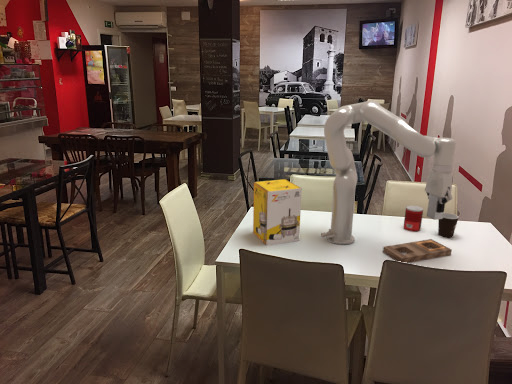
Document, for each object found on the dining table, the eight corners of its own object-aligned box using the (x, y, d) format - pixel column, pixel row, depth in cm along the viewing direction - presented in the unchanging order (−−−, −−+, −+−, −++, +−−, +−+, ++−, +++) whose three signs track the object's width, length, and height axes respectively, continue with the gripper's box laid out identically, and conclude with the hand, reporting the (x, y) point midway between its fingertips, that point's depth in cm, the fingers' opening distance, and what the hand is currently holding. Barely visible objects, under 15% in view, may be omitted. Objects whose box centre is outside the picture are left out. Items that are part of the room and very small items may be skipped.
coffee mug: (446, 240, 193) (450, 220, 190) (431, 233, 200) (434, 214, 198) (463, 235, 198) (466, 216, 195) (448, 229, 206) (451, 210, 203)
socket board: (401, 264, 169) (402, 257, 168) (382, 252, 180) (383, 246, 179) (450, 254, 178) (451, 248, 177) (430, 244, 188) (431, 238, 188)
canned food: (422, 231, 203) (425, 210, 199) (406, 231, 203) (408, 210, 200) (417, 226, 210) (420, 205, 207) (401, 225, 210) (403, 205, 207)
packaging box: (266, 245, 184) (267, 191, 177) (253, 232, 199) (253, 182, 191) (299, 240, 190) (301, 188, 183) (283, 228, 205) (285, 179, 197)
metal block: (434, 219, 174) (437, 197, 171) (426, 216, 178) (429, 193, 175) (442, 218, 175) (446, 196, 172) (434, 215, 179) (438, 192, 176)
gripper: (419, 164, 177) (414, 205, 182) (450, 173, 162) (443, 217, 167) (433, 163, 179) (428, 203, 184) (465, 172, 164) (458, 215, 169)
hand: (435, 209), depth 176 cm, fingers closed on metal block, 4 cm apart
